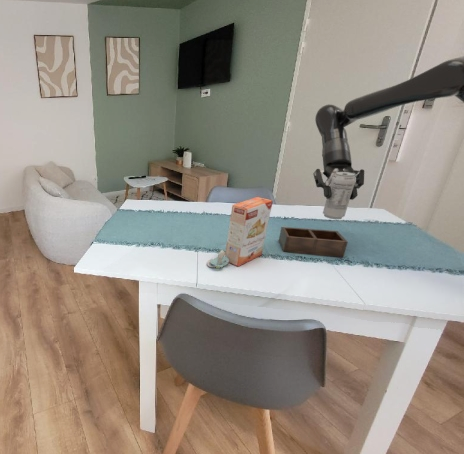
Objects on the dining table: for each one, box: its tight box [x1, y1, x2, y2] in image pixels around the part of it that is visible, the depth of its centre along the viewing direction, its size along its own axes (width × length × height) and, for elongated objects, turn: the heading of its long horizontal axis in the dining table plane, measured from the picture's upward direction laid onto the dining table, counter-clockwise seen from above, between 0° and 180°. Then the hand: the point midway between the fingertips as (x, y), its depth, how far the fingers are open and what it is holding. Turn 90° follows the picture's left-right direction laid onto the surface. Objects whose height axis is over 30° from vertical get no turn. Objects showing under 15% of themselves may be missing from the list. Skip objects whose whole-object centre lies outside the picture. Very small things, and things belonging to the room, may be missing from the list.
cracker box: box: [224, 196, 274, 267], centre depth 99 cm, size 14×6×21 cm, turn 122°
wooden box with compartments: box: [278, 226, 349, 259], centre depth 105 cm, size 18×10×6 cm, turn 71°
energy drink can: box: [322, 172, 356, 220], centre depth 97 cm, size 6×6×15 cm
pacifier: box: [206, 249, 229, 269], centre depth 98 cm, size 7×6×6 cm
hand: (340, 197), depth 95 cm, fingers closed on energy drink can, 6 cm apart
